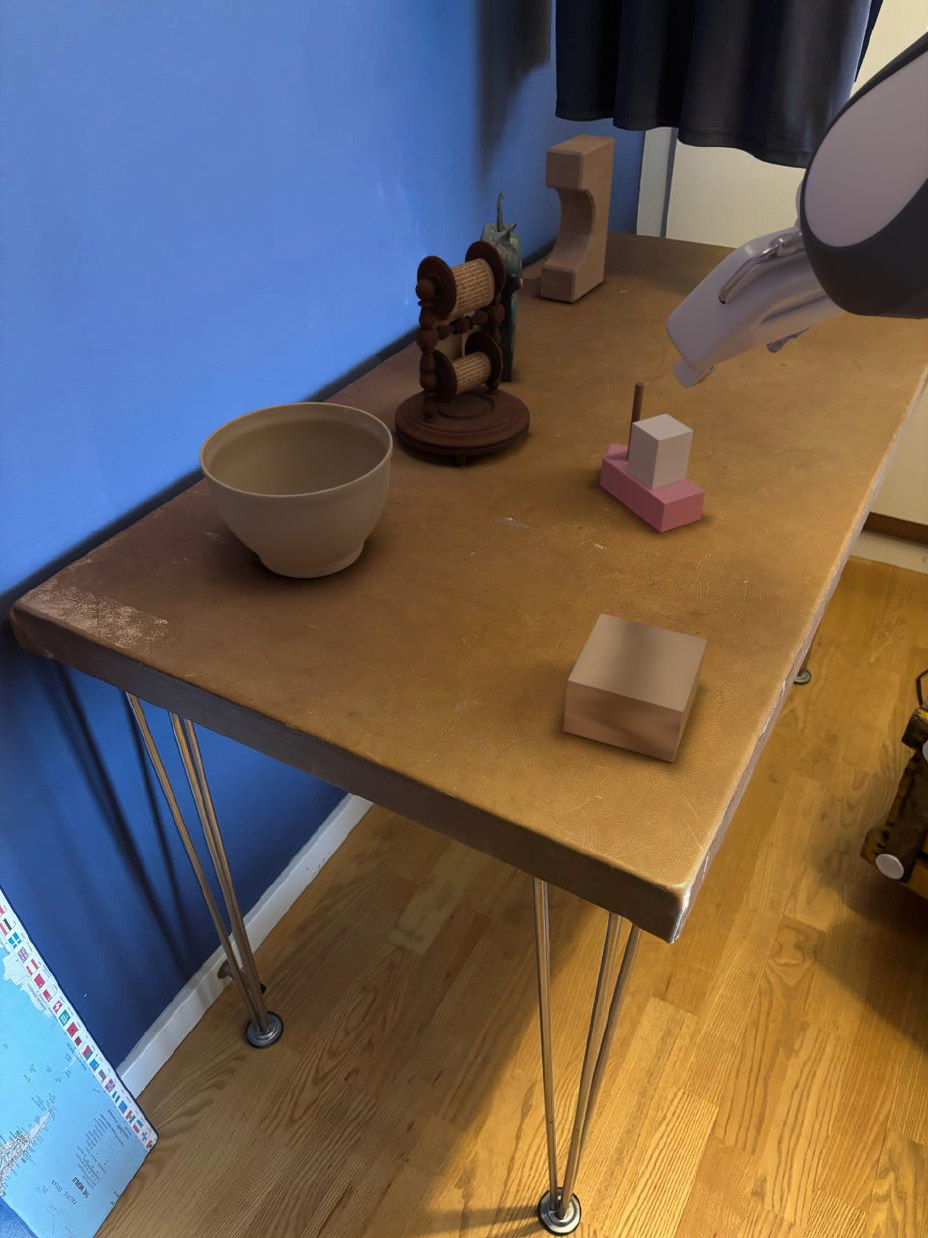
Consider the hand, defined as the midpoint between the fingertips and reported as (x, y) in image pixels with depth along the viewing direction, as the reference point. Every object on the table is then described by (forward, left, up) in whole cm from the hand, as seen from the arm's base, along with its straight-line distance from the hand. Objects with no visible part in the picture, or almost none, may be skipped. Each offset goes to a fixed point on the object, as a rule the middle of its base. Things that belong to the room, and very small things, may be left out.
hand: (729, 359), depth 64 cm
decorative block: (+32, -70, -22) cm, 80 cm away
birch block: (+1, +14, -21) cm, 26 cm away
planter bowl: (+33, +5, -22) cm, 40 cm away
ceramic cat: (+34, -43, -22) cm, 59 cm away
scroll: (+29, -21, -22) cm, 42 cm away
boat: (+7, -15, -21) cm, 27 cm away
